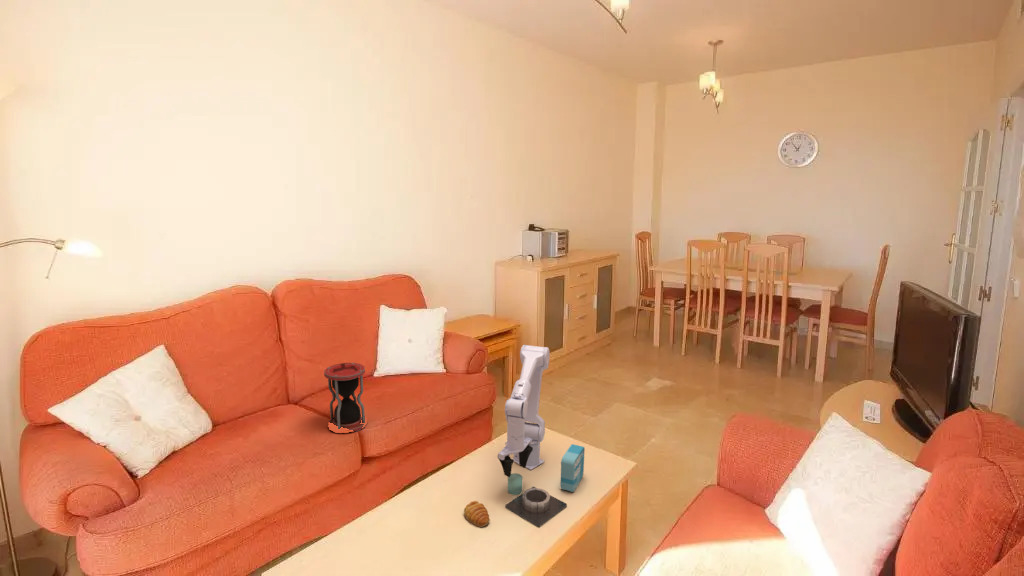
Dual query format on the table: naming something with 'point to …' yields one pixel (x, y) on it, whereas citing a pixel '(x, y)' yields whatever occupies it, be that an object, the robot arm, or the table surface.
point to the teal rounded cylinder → (515, 484)
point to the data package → (572, 468)
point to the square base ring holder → (536, 506)
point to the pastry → (477, 514)
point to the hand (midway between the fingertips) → (515, 471)
